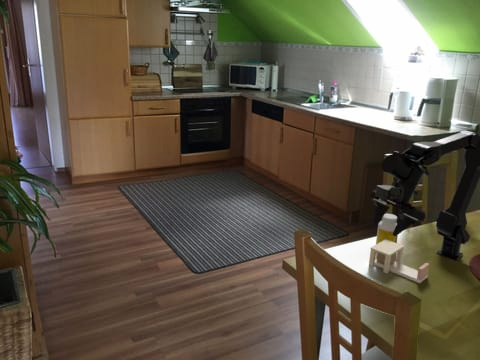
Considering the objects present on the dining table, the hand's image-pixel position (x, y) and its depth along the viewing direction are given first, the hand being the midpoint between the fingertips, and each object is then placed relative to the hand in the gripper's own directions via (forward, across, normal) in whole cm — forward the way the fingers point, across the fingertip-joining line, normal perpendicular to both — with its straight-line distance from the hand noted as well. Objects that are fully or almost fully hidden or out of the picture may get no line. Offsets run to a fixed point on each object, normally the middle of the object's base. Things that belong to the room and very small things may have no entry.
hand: (383, 230), depth 133 cm
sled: (+10, +3, +10) cm, 14 cm away
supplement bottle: (+8, -12, +16) cm, 21 cm away
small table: (+11, +2, +11) cm, 15 cm away
